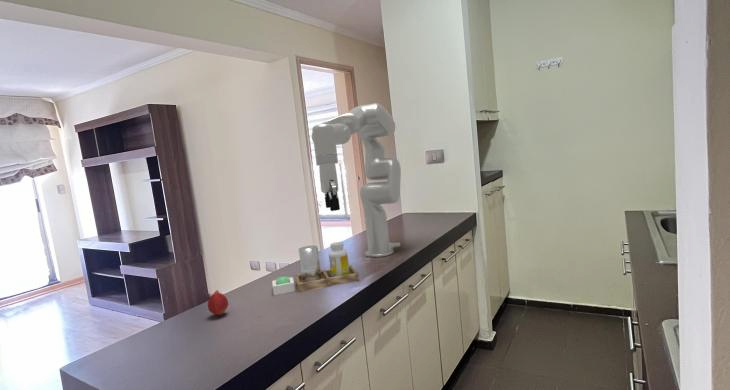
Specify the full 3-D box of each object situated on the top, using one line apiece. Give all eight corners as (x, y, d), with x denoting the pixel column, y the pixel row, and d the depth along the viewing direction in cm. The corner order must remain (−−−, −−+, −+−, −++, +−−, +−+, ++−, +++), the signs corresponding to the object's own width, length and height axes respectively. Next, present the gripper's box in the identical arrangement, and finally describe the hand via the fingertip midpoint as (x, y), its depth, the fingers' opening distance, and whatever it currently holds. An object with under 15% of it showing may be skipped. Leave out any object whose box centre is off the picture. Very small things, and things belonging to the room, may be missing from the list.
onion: (210, 321, 115) (206, 295, 114) (208, 315, 120) (204, 290, 120) (230, 315, 118) (227, 290, 117) (228, 310, 123) (224, 285, 122)
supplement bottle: (351, 275, 142) (347, 240, 141) (349, 280, 136) (345, 244, 134) (332, 276, 143) (329, 242, 142) (330, 282, 136) (326, 246, 135)
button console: (293, 288, 138) (292, 277, 137) (295, 294, 131) (293, 282, 130) (273, 291, 136) (272, 280, 136) (274, 298, 129) (272, 286, 129)
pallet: (352, 274, 146) (351, 265, 146) (359, 283, 135) (358, 273, 134) (296, 284, 141) (294, 275, 141) (298, 295, 130) (297, 285, 129)
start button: (289, 289, 136) (288, 275, 135) (290, 293, 132) (288, 278, 131) (278, 291, 135) (276, 277, 134) (278, 295, 131) (276, 280, 130)
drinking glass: (320, 279, 141) (316, 244, 139) (323, 285, 134) (318, 248, 133) (302, 283, 139) (297, 247, 138) (304, 288, 133) (299, 251, 131)
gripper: (313, 161, 143) (318, 207, 144) (319, 161, 126) (326, 213, 128) (333, 159, 144) (338, 204, 146) (342, 158, 128) (348, 210, 129)
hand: (332, 208), depth 137 cm, fingers open, 9 cm apart
